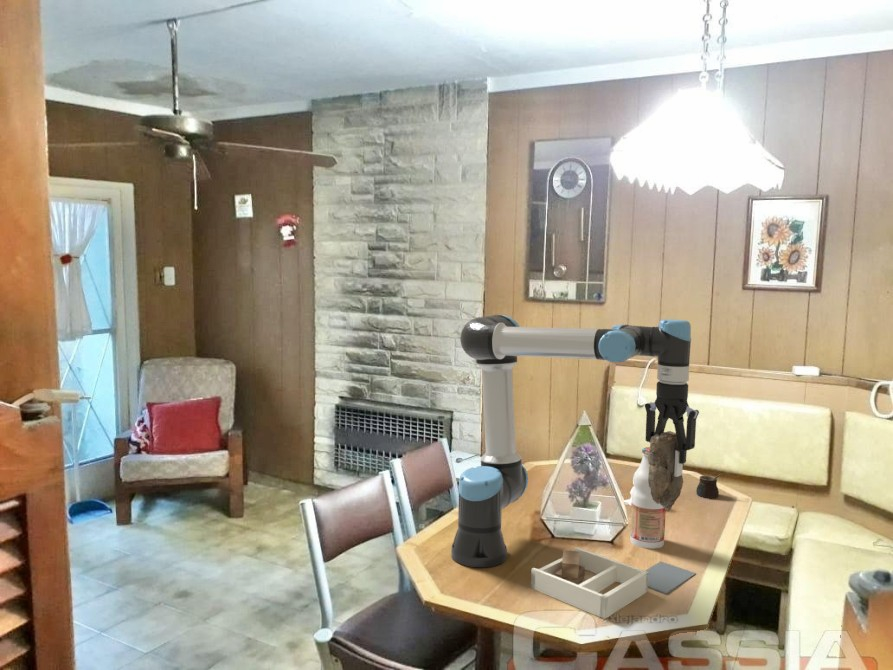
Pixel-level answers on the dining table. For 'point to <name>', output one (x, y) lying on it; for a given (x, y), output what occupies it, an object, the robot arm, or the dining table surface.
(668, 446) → the brown rock
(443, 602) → the dining table surface
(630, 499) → the white creature statuette
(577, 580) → the offcut block lower
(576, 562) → the offcut block upper
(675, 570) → the mat
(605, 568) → the tray
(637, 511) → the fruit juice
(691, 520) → the dining table surface
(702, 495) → the mate gourd
